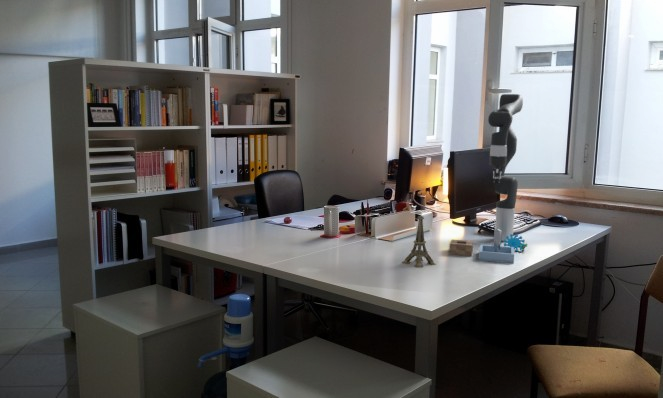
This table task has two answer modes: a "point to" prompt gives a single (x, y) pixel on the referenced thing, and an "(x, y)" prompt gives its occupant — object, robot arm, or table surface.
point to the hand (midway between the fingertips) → (496, 189)
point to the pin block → (461, 247)
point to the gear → (515, 242)
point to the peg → (497, 240)
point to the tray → (496, 254)
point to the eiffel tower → (419, 247)
